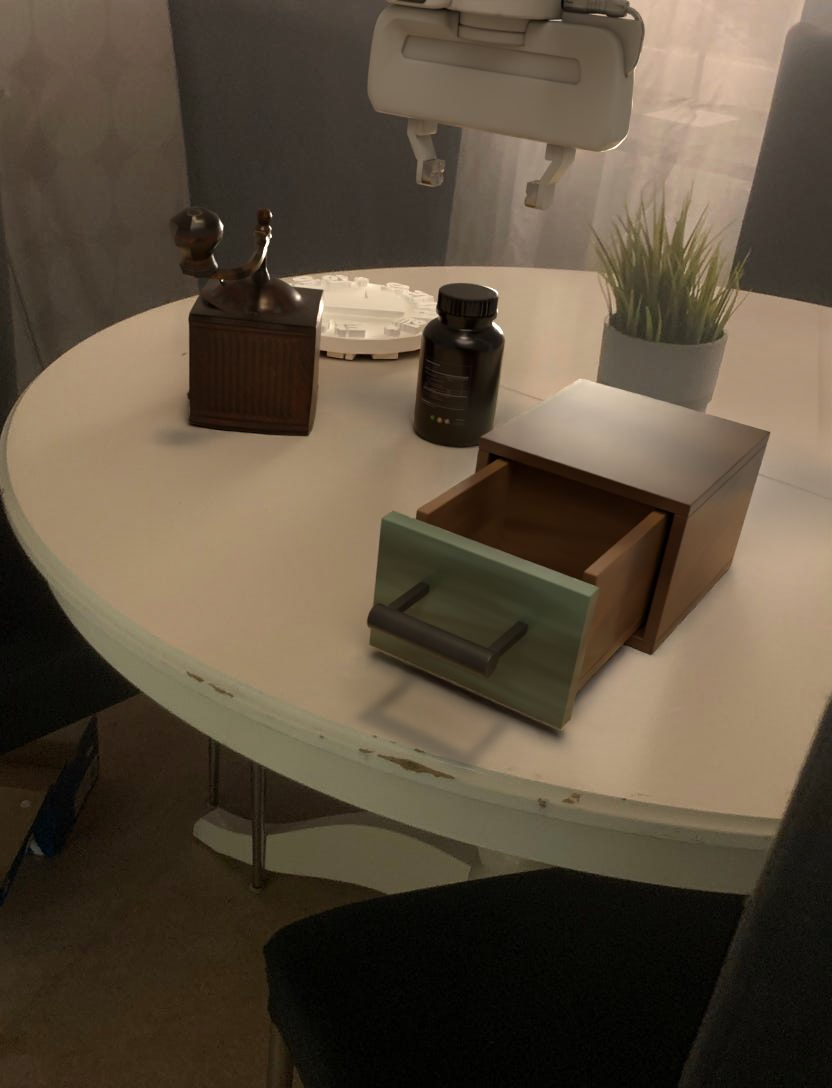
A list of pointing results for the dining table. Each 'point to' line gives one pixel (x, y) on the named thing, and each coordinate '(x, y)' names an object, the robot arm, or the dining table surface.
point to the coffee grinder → (248, 335)
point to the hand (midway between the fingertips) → (481, 196)
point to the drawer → (517, 584)
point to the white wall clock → (369, 316)
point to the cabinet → (647, 478)
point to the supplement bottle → (459, 367)
